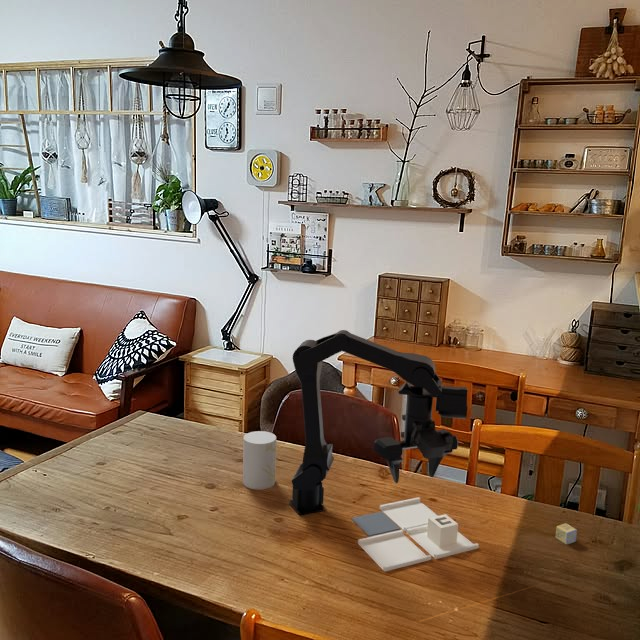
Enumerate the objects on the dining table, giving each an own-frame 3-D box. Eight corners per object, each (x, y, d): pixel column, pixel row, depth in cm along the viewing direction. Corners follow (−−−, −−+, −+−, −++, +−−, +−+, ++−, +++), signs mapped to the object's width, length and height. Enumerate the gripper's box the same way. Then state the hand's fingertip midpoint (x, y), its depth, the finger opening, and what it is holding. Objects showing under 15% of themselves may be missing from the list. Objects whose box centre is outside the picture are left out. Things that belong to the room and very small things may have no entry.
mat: (368, 537, 139) (368, 535, 139) (351, 519, 146) (351, 517, 146) (399, 529, 142) (400, 528, 142) (381, 513, 149) (381, 511, 149)
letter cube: (439, 547, 136) (440, 527, 135) (426, 536, 140) (428, 517, 139) (456, 543, 138) (458, 523, 137) (443, 532, 141) (445, 513, 141)
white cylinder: (270, 491, 158) (271, 445, 155) (238, 487, 159) (239, 441, 157) (278, 477, 165) (280, 433, 163) (248, 473, 167) (249, 429, 165)
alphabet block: (565, 545, 139) (567, 532, 138) (554, 538, 142) (556, 525, 141) (575, 542, 140) (577, 529, 140) (564, 535, 143) (566, 522, 143)
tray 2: (384, 572, 126) (384, 567, 126) (357, 543, 136) (357, 539, 136) (430, 560, 131) (431, 556, 131) (401, 533, 141) (402, 529, 141)
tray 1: (405, 532, 141) (405, 528, 141) (379, 509, 151) (379, 505, 151) (445, 522, 146) (446, 518, 146) (418, 501, 156) (418, 497, 156)
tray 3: (435, 559, 131) (435, 555, 131) (406, 533, 141) (406, 529, 141) (478, 548, 136) (478, 544, 136) (447, 523, 146) (447, 519, 146)
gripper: (400, 431, 130) (395, 502, 134) (476, 421, 138) (469, 488, 141) (374, 413, 140) (370, 479, 144) (446, 404, 148) (440, 468, 151)
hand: (413, 479), depth 145 cm, fingers open, 9 cm apart
